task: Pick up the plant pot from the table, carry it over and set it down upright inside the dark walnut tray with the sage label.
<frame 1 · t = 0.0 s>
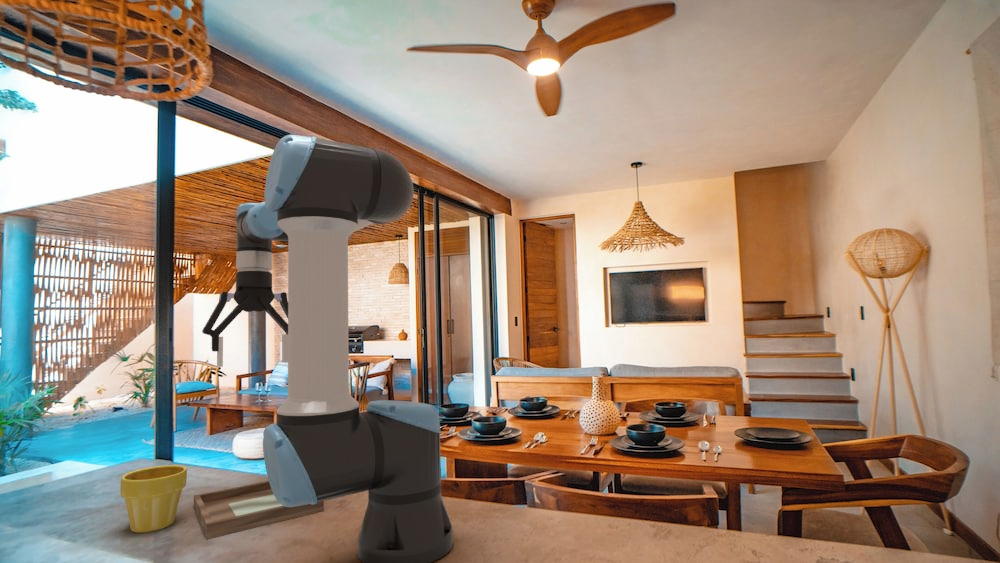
hand: (253, 364, 116), 28 cm above the worktop, fingers open, 13 cm apart
walnut tray: (257, 509, 102), on the worktop
plant pot: (153, 526, 95), on the worktop
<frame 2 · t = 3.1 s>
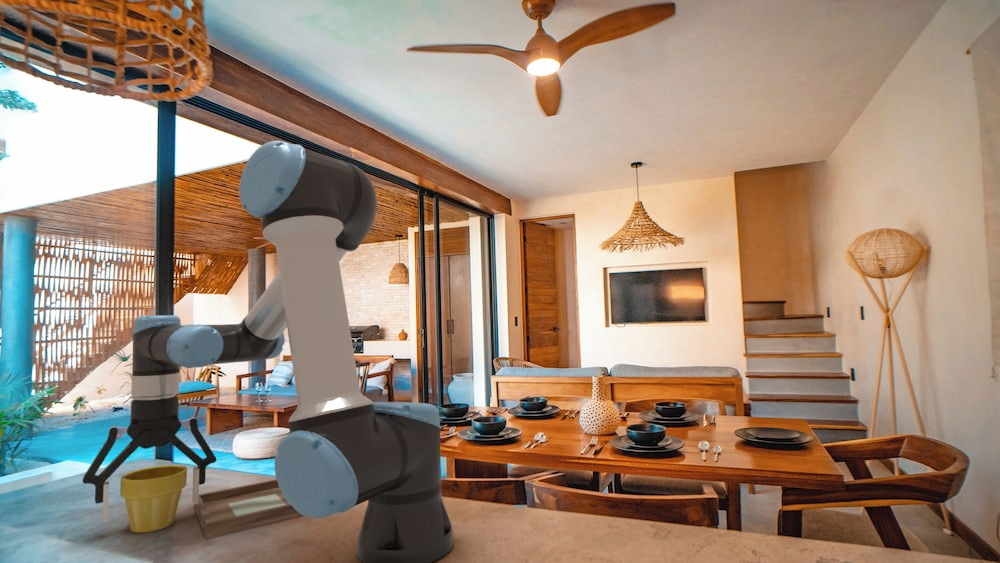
hand: (152, 511, 95), 2 cm above the worktop, fingers open, 13 cm apart
nothing on the worktop moved.
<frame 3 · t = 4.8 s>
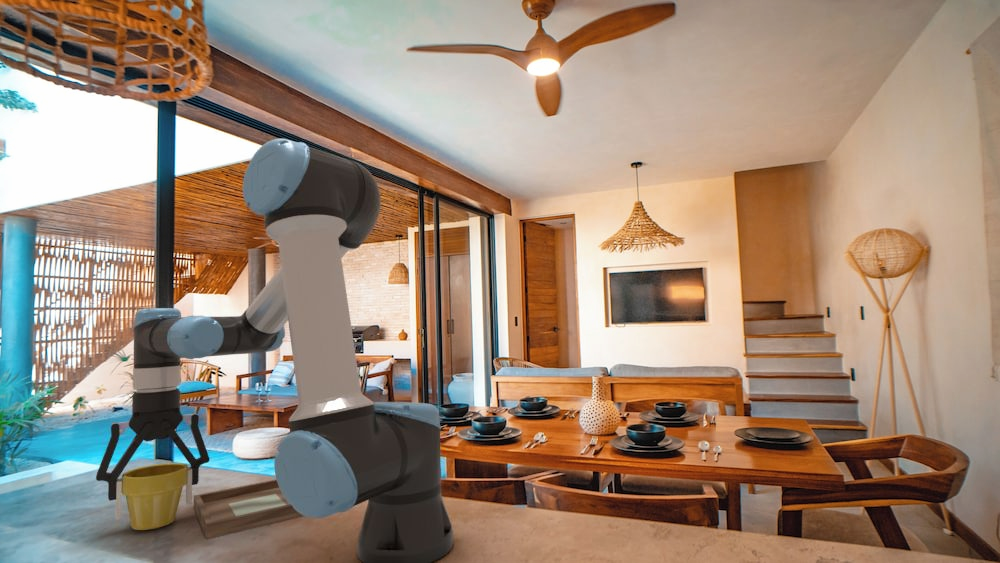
hand: (154, 509, 95), 3 cm above the worktop, fingers closed on plant pot, 10 cm apart
plant pot: (154, 524, 95), on the worktop, touching gripper
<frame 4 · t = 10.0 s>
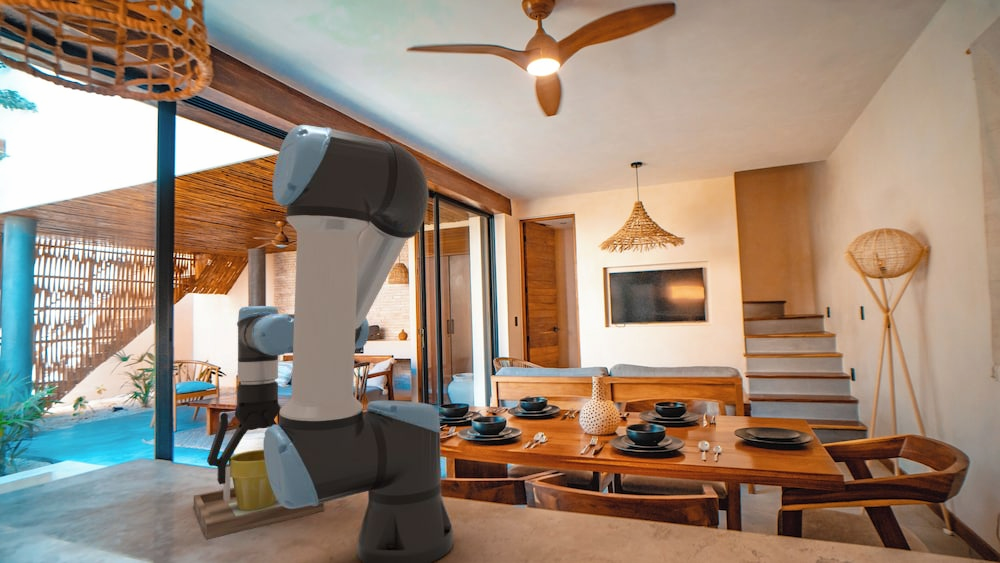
hand: (257, 493, 102), 3 cm above the worktop, fingers closed on plant pot, 10 cm apart
plant pot: (257, 505, 102), point 1 cm above the worktop, touching gripper, walnut tray
when the fingers open (3 cm above the worktop, at t = 10.4 s): plant pot stays where it is, resting on walnut tray.
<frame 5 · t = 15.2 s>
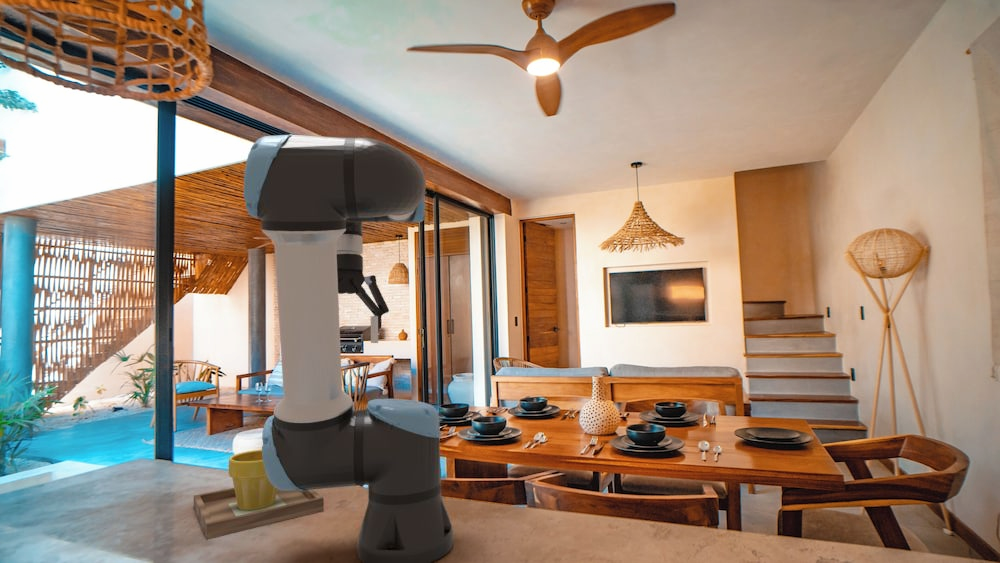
hand: (347, 344, 120), 32 cm above the worktop, fingers open, 13 cm apart
plant pot: (257, 505, 102), point 1 cm above the worktop, touching walnut tray
at the end: plant pot inside the target area on the walnut tray (0.0 cm from its centre), point 0.7 cm above the walnut tray's base; plant pot tilted 0°; the gripper is holding nothing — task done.
